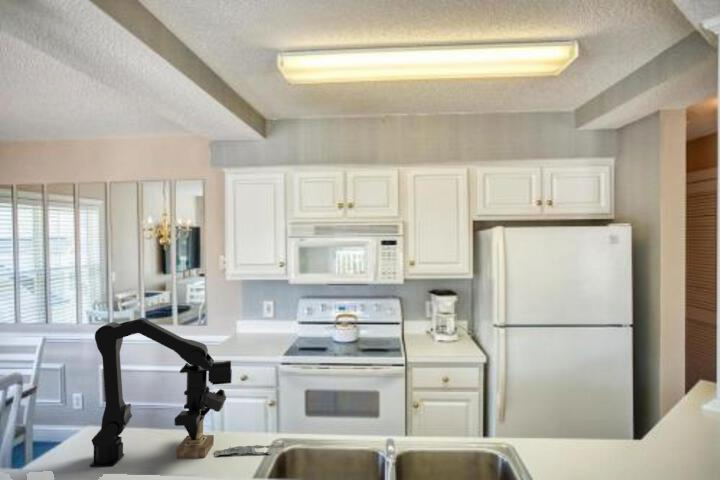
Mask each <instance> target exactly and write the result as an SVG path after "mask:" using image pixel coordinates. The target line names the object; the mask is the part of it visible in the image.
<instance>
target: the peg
mask: <svg viewBox="0 0 720 480" xmlns="http://www.w3.org/2000/svg"><path fill="white" fill-rule="evenodd" d="M200 417H203V415H201V416H200ZM203 435H204V420H203V419H202V420H201V421H200V422H199V424H198V430H197V436H196V440H192V439H191V438H190V436H189V444H201V443H202V442H203Z"/></svg>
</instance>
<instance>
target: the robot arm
mask: <svg viewBox="0 0 720 480" xmlns="http://www.w3.org/2000/svg"><path fill="white" fill-rule="evenodd" d="M135 334H140V335H142V336H144V337H146V338H148V339H150V340H152V341H154V342H156V343H158V344H160V345H162V346H164V347H166V348H168V349H170V350H172V351H174V352H175V353H176V354H177V355H178V356H179V357H180V358H181V359H182V360H183V361H185V362H186V363H185V364H184V366H182V367H181V369H180V370H179V373H181V374H186V389H185V391H184V392H183V395H184V396H185V397H186V398H185V399H186V400H185V402H186V403H185V404H184V405H183V410H181V411H180V412H179V414H178V415H176V416H175V417H174V426H175V427H179V426H180V427H181V426H183V427H184V428H185V430H186V432H187V434H188V435H189V436H190V438H191V439H192V440H196V436H197V430H198V424H199V422H200V421H201V420H202V419H203V421H204V420H205V416H206V415H207V414H208V413H209V412H210V410H213V411H214V412H220V411H221V410H222V409H223V406H224V404H225V402H226V400H227V395H226V393H225V390H224V389H222V388H220V389H219V390H217V392H216V391H213V392H212V391H210V387H209V386H207V379H208V382H210V384H211V385H224V384H225V385H226V384H227V385H228V384H232V379H233V376H232V375H233V373H232V372H233V369H232V361H231V360H225V361H224V360H223V361H215V360H214V359H213V357H212V356H211V355H210V353H209V351H208V347H207V344H204V343H203V342H199V341H197V340H193V339H188V338H183V337H181V336H180V335H177V334H176V333H173V332H172V331H170V330H167V329H165V328H163V327H162V326H160V325H158V324H156V323H155V322H152V321H150V320H149V319H148V318H146V317H139V318H137V319H131V320H128V321H124V322H120V323H119V322H116V321H115V322H114V321H111V322H108V323H106V324H104V325H103V326H100V327H99V328H98V329H97V330H96V331H95V333H94V340H95V343H96V347H97V350H98V352H99V354H100V355H101V357H102V370H103V382H104V383H103V384H104V385H103V387H104V400H105V408H104V409H103V414H102V415H103V416H102V418H101V425H100V427H101V428H100V429H99V431H98V432H97V433H96V434H95V435H94V436H93V437H92V439H91V443H92V446H93V461H92V462H91V463H90V464H89V467H112V466H114V465H116V464H117V463H118V461H120V460H121V459H122V458H123V457H124V456H125V453H124V442H123V441H122V436H120V435H121V434H122V433H123V431H124V430H125V429H126V427H127V426H128V424H129V423H130V420H131V418H132V417H133V414H132V413H131V412H132V411H131V407H132V404H131V403H128V404H126V403H125V401H124V398H123V395H124V394H123V384H122V382H123V381H122V367H121V355H120V354H121V349H122V344H123V341H124V338H127V337H130V336H132V335H135ZM207 373H208V375H207ZM207 376H208V377H207ZM201 415H203V417H200V416H201Z"/></svg>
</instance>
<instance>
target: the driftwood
mask: <svg viewBox="0 0 720 480" xmlns="http://www.w3.org/2000/svg"><path fill="white" fill-rule="evenodd" d="M265 448H266V449H269V450H270V449H276V450H278V449H281V448H285V442H283V443H282V444H277V445H275V444H271V445H257V444H256V445H246V446H241V445H240V446H239V445H238V446H234V447H231V446H230V447H228V448H225V449H221V450H218V449H216V450H214V458H216V457H219V456H220V455H231V454H237V455H238V456H241V455H242V454H243V455H244V454H247V453H249V454H254V455H264V454H267V455H269V456H272V455H273V453H272V452H268V451H267V452H264V451H259V452H258V451H256V450H255V449H265ZM275 453H276V454H279V452H278V451H276V452H275Z"/></svg>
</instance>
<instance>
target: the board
mask: <svg viewBox="0 0 720 480" xmlns="http://www.w3.org/2000/svg"><path fill="white" fill-rule="evenodd" d="M214 436H215V435H214V434H203V442H202V443H201V444H189V434H188V435H186V436H185V438H184V439H182V441H181V442H180V444H179V445H178V446H177V447H176V459H195V458H198V459H201V458H200V457H205V458H206V457H207V455H208V454H209V452H210V451H211V449H212V447H213V446H214V441H215V440H214V439H215V438H214Z"/></svg>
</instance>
